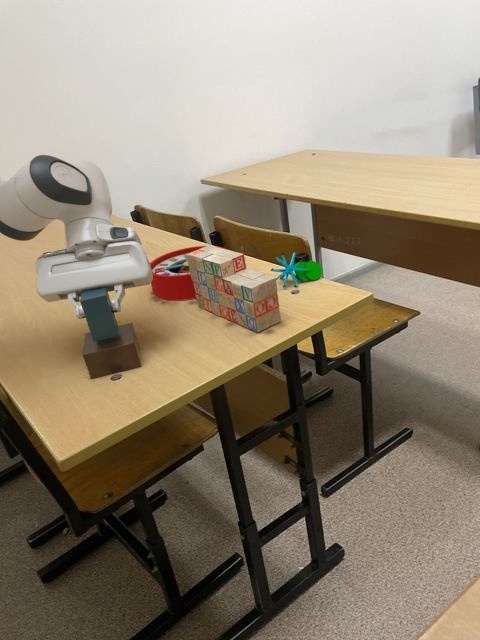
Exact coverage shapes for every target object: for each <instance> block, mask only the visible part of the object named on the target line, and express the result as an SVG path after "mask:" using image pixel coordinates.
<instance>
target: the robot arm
mask: <svg viewBox="0 0 480 640" xmlns="http://www.w3.org/2000/svg"><path fill="white" fill-rule="evenodd" d="M112 214H113V206H112V197H111V192H110V188H109V185H108V181H107V179H106V175H105V174H104V172H103V171H102V168H100V167H99V166H98V165H97V164H95V163H94V162H92V161H90V160H86V159H73V160H70V161H65V160H63V159H61V158H59V157H56V156H53V155H49V154H48V155H47V154H39V155H36V156H35V157H33V158H32V159H31V160H30V161H28V162H27V163H25V164H24V165H23V166H22V167H21V168H20V169H19V170H17V172H16V173H15V174H13V175H12V176H11V177H10V178H9V179H8V180H5V179H2V178H1V177H0V234H1V235H4V236H5V237H7V238H9V239H12V240H16V241H21V242H27V241H30V240H33V239H35V238H36V237H37V236H38V235H39V234H40V233H41V232H42V231H43V230H44V229H46V228H47V226H48V225H50V224H51V223H53V222H54V221H55V220H59V221H61V222H62V223H63V224H64V236H65V238H64V239H65V247H66V248H63V249H58V250H54V251H46V252H43V253H42V254H41V255H40V256H38V257H37V258H36V260H35V263H34V265H35V272H36V284H35V285H36V293H37V295H38V296H39V297H40V298H41V299H42V300H44V301H45V302H47V303H52V302H58V301H59V302H60V301H63V300H68V301H69V302H70V304H72V306H73V307H74V309H75V315H76V318H77V319H78V320H82V319H86V317H85V314H84V311H83V308H82V305H79V304H78V303H81V302H80V298H81V292H83V291H88V290H93V289H97V288H102V287H106V288H107V291H108V293H109V292H115V293H116V294H115V296H114V298H113V299H112V300H110V301H109V302H110V308H111V311H112V313H114V314H115V313H116V314H117V313H121V312H122V308H121V303H122V302H123V299H124V297H125V296H126V289H132V288H133V289H134V288H138V287H144V286H149V285H151V282H152V280H153V274H152V270H151V266H150V263H151V262H150V261H149V258H148V255H147V253H146V251H145V250H144V247H143V245H142V240H141V239H140V236H139V235H138V233H137V231H136V230H135V229H134V228H133V227H130V226H121V225H114V223H113V221H112Z"/></svg>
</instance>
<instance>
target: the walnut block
mask: <svg viewBox="0 0 480 640" xmlns="http://www.w3.org/2000/svg"><path fill="white" fill-rule="evenodd" d="M136 333H137V332H136V330H135V326H134V323H133V322H128V323H123V324H120V325H119V324H118V336H116V337H112V338H108V339H103V340H99V341H95V342H94V341H93V338H92V335H91V332H90V331H89V332H86V333H85V332H84V340H83V348H82V358H83V360H84V363H85V366H86V369H87V371H88V374H89V377H90V380H92V379H98V378H101V377H106V376H110V375H113V374H117V373H121V372H125V371H129V370H133V369H137V368H141V367H142V361H141V351H140V350H141V349H140V344H139V339H138V336H137V334H136Z"/></svg>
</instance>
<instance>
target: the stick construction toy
mask: <svg viewBox="0 0 480 640" xmlns="http://www.w3.org/2000/svg"><path fill="white" fill-rule="evenodd" d="M280 256H281V259H280V258H279V257H277V256H276V257H275V258H274V261H277V262H278V263H279V264H280V265H282V266H283V267H284V268H271V269H270V272H276V273H281V274H279V275H278V276H277V277H276V281H278V280H279V279H280V280H283V285H282V288H283V289H285V288H286V284H287V281H288V279H289V276H290V277H291V279H292V281H293V283H294V288H296V287H298V282H300V283H304V282H309V281H316V280H318V279H320V278H321V276H322V274H323V271H324V270H323V268H322V266H321V265H320V264H319V263H318V262H317V261H316V260H315V261H314V260H308V261H303V260H302V259H301V260H300V261H298V262H296V263H295V257H296V252H293V253H292V257H291V260H290V262H289V264H288V263H287V259H286V258H285V253H284V252H282V253H281V254H280ZM294 263H295V264H294ZM297 281H298V282H297Z"/></svg>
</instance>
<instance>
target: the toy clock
mask: <svg viewBox="0 0 480 640" xmlns="http://www.w3.org/2000/svg"><path fill="white" fill-rule="evenodd" d="M206 246H207V245H198V246H197V245H196V246H191V247H185V248H179V249H176V250H173V251H170V252H167V253H164V254H161V255H160V256H158V257H156V258H154V259H153V260H151V262H149V263H150V266H151V270H152V274H153V280H152V282H151V283H150V286H151V290H152V294H153V295H154V296H155V297H156V298H157V299H160V300H166V301H171V302H172V301H175V302H176V301H180V302H181V301H190V300H197V299H196V295H195V294H196V293H195V290H194V286H193V281H192V278H191V274H190V270H189V265H188V261H187V257H186V254H188V253H191V252H193V251H196V250H199V249H201V248H203V247H206ZM214 246H215V247H218V248H222V249H226V250H228V249H227V248H226V247H223V246H218V245H214Z"/></svg>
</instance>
